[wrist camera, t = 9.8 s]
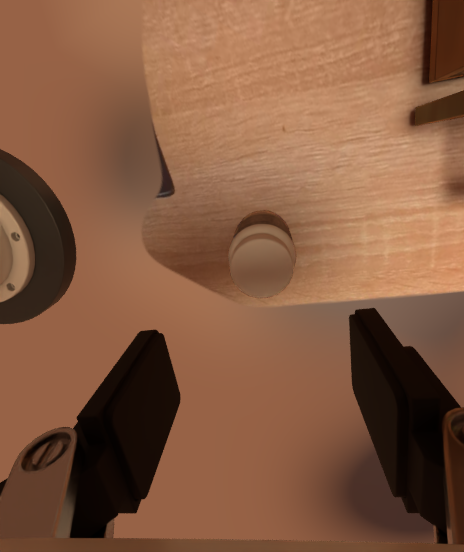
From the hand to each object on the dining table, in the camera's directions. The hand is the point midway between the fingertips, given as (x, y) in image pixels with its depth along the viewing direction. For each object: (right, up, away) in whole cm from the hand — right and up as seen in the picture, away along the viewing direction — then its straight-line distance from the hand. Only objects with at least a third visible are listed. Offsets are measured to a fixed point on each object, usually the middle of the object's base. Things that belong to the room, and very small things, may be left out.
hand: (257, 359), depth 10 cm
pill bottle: (+2, +6, +17) cm, 18 cm away
